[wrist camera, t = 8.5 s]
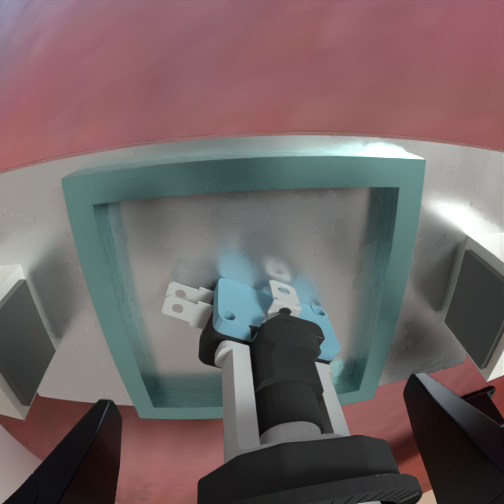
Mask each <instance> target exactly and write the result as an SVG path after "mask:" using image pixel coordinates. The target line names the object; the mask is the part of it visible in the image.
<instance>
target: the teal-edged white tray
mask: <svg viewBox="0 0 504 504" xmlns="http://www.w3.org/2000/svg"><path fill="white" fill-rule="evenodd" d="M498 233H504V149H499V148H493V147H487V146H482V145H476V144H469V143H462V142H455V141H448V140H440V139H432V138H423V137H413V136H402V135H390V134H375V133H357V132H327V131H276V132H246V133H227V134H212V135H200V136H188V137H178V138H169V139H160V140H152V141H144V142H136V143H129V144H122V145H116V146H110V147H104V148H98V149H92V150H86V151H81V152H76V153H71V154H66V155H61V156H56V157H52V158H47V159H43V160H38V161H34V162H30V163H26V164H22V165H18V166H14V167H10V168H7V169H3V170H0V266H2V265H16V264H20V265H21V268H22V271H23V274H24V276H25V279H26V282H27V285H28V287H29V290H30V293H31V295H32V298H33V300H34V303H35V305H36V308H37V310H38V312H39V315H40V317H41V319H42V322H43V324H44V326H45V329H46V331H47V333H48V335H49V337H50V339H51V342H52V344H53V346H54V348H55V350H56V354H55V356H54V358H53V360H52V362H51V364H50V366H49V368H48V370H47V372H46V374H45V376H44V378H43V380H42V382H41V385H40V387H39V389H38V391H37V392H38V394H39V395H40V396H42V397H48V398H55V399H63V400H71V401H80V402H89V403H96V402H97V401H98V400H99V399H111V400H113V401H114V403H115V405H130V406H134V407H135V409H136V411H137V413H138V415H139V417H140V418H149V419H216V418H223V392H222V369H221V368H217V367H213V366H209V365H206V364H204V363H202V362H201V361H200V360H199V357H198V354H199V340H200V335H201V333H202V331H203V329H200V328H196V327H193V326H190V325H189V323H190V322H188V321H185V320H182V319H179V318H175V317H172V316H169V315H166V314H163V313H162V308H163V305H164V302H165V299H166V297H165V295H166V293H167V290H168V287H169V284H170V282H172V281H173V282H176V283H179V284H182V285H185V286H188V287H191V288H194V289H197V290H199V288H200V287H202V288H205V289H208V290H211V291H214V290H215V288H216V285H217V283H218V281H219V279H221V278H225V279H229V280H232V281H235V282H238V283H241V284H244V285H247V286H250V287H253V288H256V289H259V290H262V291H266V292H269V293H271V291H270V287H269V283H268V282H269V281H270V280H275V281H278V282H281V283H284V284H287V285H290V286H291V287H293V288H294V289H295V291H296V294H297V297H298V300H299V302H300V303H303V304H307V305H310V306H311V305H312V306H315V307H318V308H321V309H322V310H324V311H325V312H326V314H327V316H328V318H329V319H328V320H329V322H330V324H331V327H332V329H333V331H334V334H335V336H336V338H337V341H338V343H339V345H340V350H339V352H338V353H337V354H336V356H335V357H334V358H333V360H332V361H331V363H330V364H329V365H330V367H331V370H332V372H333V376H332V378H331V380H332V383H333V386H334V389H335V392H336V394H337V397H338V400H339V403H340V405H345V404H350V403H356V402H361V401H366V400H370V399H373V397H374V395H375V392H376V389H377V386H379V385H384V384H388V383H393V382H397V381H401V380H406V379H409V376H410V375H411V374H413V373H416V372H421V371H422V372H425V373H426V374H429V373H432V372H436V371H440V370H443V369H446V368H450V367H453V366H456V365H460V364H463V362H464V360H465V358H466V356H467V354H466V353H465V351H464V350H463V349H462V347H461V346H460V345H459V343H458V342H457V341H456V339H455V338H454V337H453V336H452V334H451V333H450V332H449V330H448V329H447V328H446V327H445V325H444V324H443V321H444V319H445V316H446V313H447V310H448V307H449V304H450V300H451V297H452V294H453V291H454V287H455V284H456V280H457V277H458V273H459V270H460V266H461V262H462V258H463V254H464V250H465V246H466V241H467V237H468V235H480V234H498ZM278 290H279V291H280V292H282V293H284V294H287V295H288V294H289V293H288V292H287V291H286V290H284V289H282V288H278ZM175 295H176V296H177V297H178V298H183V297H185V295H186V294H185V292H184V291H183V290H177V291H176V292H175ZM172 309H173V311H175V312H181V311H183V307H182V306H181V305H180V304H174V305H173V306H172Z"/></svg>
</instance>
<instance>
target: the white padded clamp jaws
mask: <svg viewBox="0 0 504 504" xmlns="http://www.w3.org/2000/svg"><path fill="white" fill-rule="evenodd" d="M443 324H444V325H445V327H446V328H447V329H448V330H449V332H450V333H451V334H452V336H453V337H454V338H455V339H456V341H457V342H458V343H459V345H460V346H461V347H462V349H463V350H464V351H465V353H466V354H467V355H468V357H469V358H470V359H471V361H472V362H473V364H474V365H475V366H476V368H477V369H478V370H479V372H480V373H481V375H482V376H483V378H484V379H485V380H486V382H487V381H490V380H492V379H495V378H497V377H499V376H502V375H504V233H498V234H480V235H468V237H467V241H466V246H465V250H464V254H463V258H462V262H461V266H460V270H459V273H458V277H457V280H456V284H455V287H454V291H453V294H452V297H451V300H450V304H449V307H448V310H447V313H446V316H445V319H444V321H443ZM55 354H56V350H55V348H54V346H53V344H52V342H51V339H50V337H49V335H48V333H47V331H46V329H45V326H44V324H43V322H42V319H41V317H40V315H39V312H38V310H37V308H36V305H35V303H34V300H33V298H32V295H31V293H30V290H29V287H28V285H27V282H26V279H25V276H24V274H23V271H22V268H21V265H20V264H16V265H2V266H0V414H2V415H5V416H9V417H13V418H17V419H22V420H25V418H26V416H27V414H28V411H29V409H30V407H31V404H32V402H33V400H34V398H35V395H36V393H37V391H38V389H39V387H40V385H41V382H42V380H43V378H44V376H45V374H46V372H47V370H48V368H49V366H50V364H51V362H52V360H53V358H54V356H55Z"/></svg>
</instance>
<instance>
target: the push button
mask: <svg viewBox="0 0 504 504" xmlns="http://www.w3.org/2000/svg"><path fill="white" fill-rule="evenodd" d="M268 283H269V287H270V291H271V293H269V292H266V291H262V290H259V289H256V288H253V287H250V286H247V285H244V284H241V283H238V282H235V281H232V280H229V279H225V278H221V279H219V281H218V283H217V285H216V288H215V290H214V291H211V290H208V289H205V288H202V287H200V288H199V290H197V289H194V288H191V287H188V286H185V285H182V284H179V283H176V282H173V281H172V282H170V284H169V287H168V290H167V293H166V295H165V297H166V299H165V302H164V305H163V308H162V313H163V314H166V315H169V316H172V317H175V318H179V319H182V320H185V321H188V322H190V323H189V325H190V326H193V327H196V328H200V329H203V331H202V333H201V335H200V340H199V354H198V357H199V360H200V361H201V362H202V363H204V364H206V365H209V366H213V367H217V368H221V369H222V392H223V435H224V465H222V466H220V467H219V468H217V469H216V470H214V471H213V472H211V473H209V474H208V475H206V476H205V477H203V478H201V479H200V480H199V481H198V500H197V504H416V503H417V502H418V501H419V500H420V498H421V496H422V490H421V487H420V485H419V482H418V480H417V478H415V477H414V476H412V475H408V474H400V472H399V469H398V467H397V464H396V461H395V459H394V456H393V454H392V451H391V449H390V446H389V444H388V442H387V441H385V440H382V439H377V438H372V437H368V436H363V435H353V436H350V433H349V430H348V427H347V424H346V421H345V418H344V415H343V412H342V409H341V406H340V403H339V400H338V397H337V394H336V392H335V389H334V386H333V383H332V380H331V378H332V376H333V372H332V370H331V367H330V365H329V364H330V363H331V361H332V360H333V358H334V357H335V356H336V354H337V353H338V352H339V350H340V345H339V343H338V341H337V338H336V336H335V334H334V331H333V329H332V327H331V324H330V322H329V320H328V319H329V318H328V316H327V314H326V312H325V311H324V310H322V309H321V308H318V307H315V306H312V305H311V306H310V305H307V304H303V303H300V302H299V300H298V297H297V294H296V291H295V289H294V288H293V287H291V286H290V285H287V284H284V283H281V282H278V281H275V280H270V281H269V282H268ZM278 288H282V289H284V290H286V291H287V292H288V293H289V294H288V295H287V294H284V293H282V292H280V291H279V290H278ZM177 290H183V291H184V292H185V294H186V295H185V297H183V298H178V297H177V296H176V295H175V292H176V291H177ZM174 304H180V305H181V306H182V307H183V311H181V312H175V311H173V309H172V306H173V305H174Z"/></svg>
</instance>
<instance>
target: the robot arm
mask: <svg viewBox="0 0 504 504" xmlns="http://www.w3.org/2000/svg"><path fill="white" fill-rule="evenodd" d="M495 391H496V388H495V387H494V386H491V387H489V388H487V389H484V390H482V391H479V392H477V393H474V394H472V395H469V396H467V397H464V398H460V397H459V396H458V395H456V394H455V393H453V392H452V391H450V390H449V389H448V388H446V387H445V386H443V385H442V384H440V383H439V382H438V381H436V380H435V379H433V378H432V377H430V376H429V375H428V374H426V373H425V372H422V371H421V372H416V373H413V374H411V375H410V376H409V379H408V381H407V384H406V386H405V388H404V392H403V396H404V400H405V404H406V408H407V411H408V415H409V419H410V423H411V427H412V431H413V435H414V438H415V441H416V443H417V446H418V449H419V452H420V454H421V457H422V460H423V463H424V466H425V469H426V471H427V474H428V477H429V480H430V483H431V486H432V489H433V492H434V495H435V498H436V502H437V504H504V419H503V417H502V416H501V414H500V412H499V411H498V409H497V408H496V406H495V405H494V403H493V402H492V400H491V397H492V396H493V394H494V393H495ZM121 432H122V417H121V414H120V412H119V411H118V409H117V407H116V405H115V403H114V401H113V400H111V399H99V400H98V401H97V402H96V403H95V404H94V405H93V406H92V408H91V409H90V410H89V411H88V412H87V413H86V414H85V415H84V416H83V417H82V419H81V420H80V421H79V422H78V423H77V424H76V425H75V426H74V427H73V429H72V430H71V431H70V432H69V433H68V434H67V435H66V436H65V437H64V439H63V440H62V441H61V442H60V443H59V444H58V445H57V446H56V447H55V449H54V450H53V451H52V452H51V453H50V454H49V455H48V456H47V457H46V459H45V460H44V461H43V462H42V463H41V464H40V465H39V466H38V468H37V469H36V470H35V471H34V474H31V475H30V476H29V478H28V479H27V480H26V481H25V482H24V483H23V484H22V485H21V486H20V488H19V489H17V490H16V492H14V493H13V494H12V495H11V496H10V497H9V498H8V499H7V500H6V501H5V502H4V503H2V504H115V497H116V489H117V482H118V475H119V468H120V454H121Z"/></svg>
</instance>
